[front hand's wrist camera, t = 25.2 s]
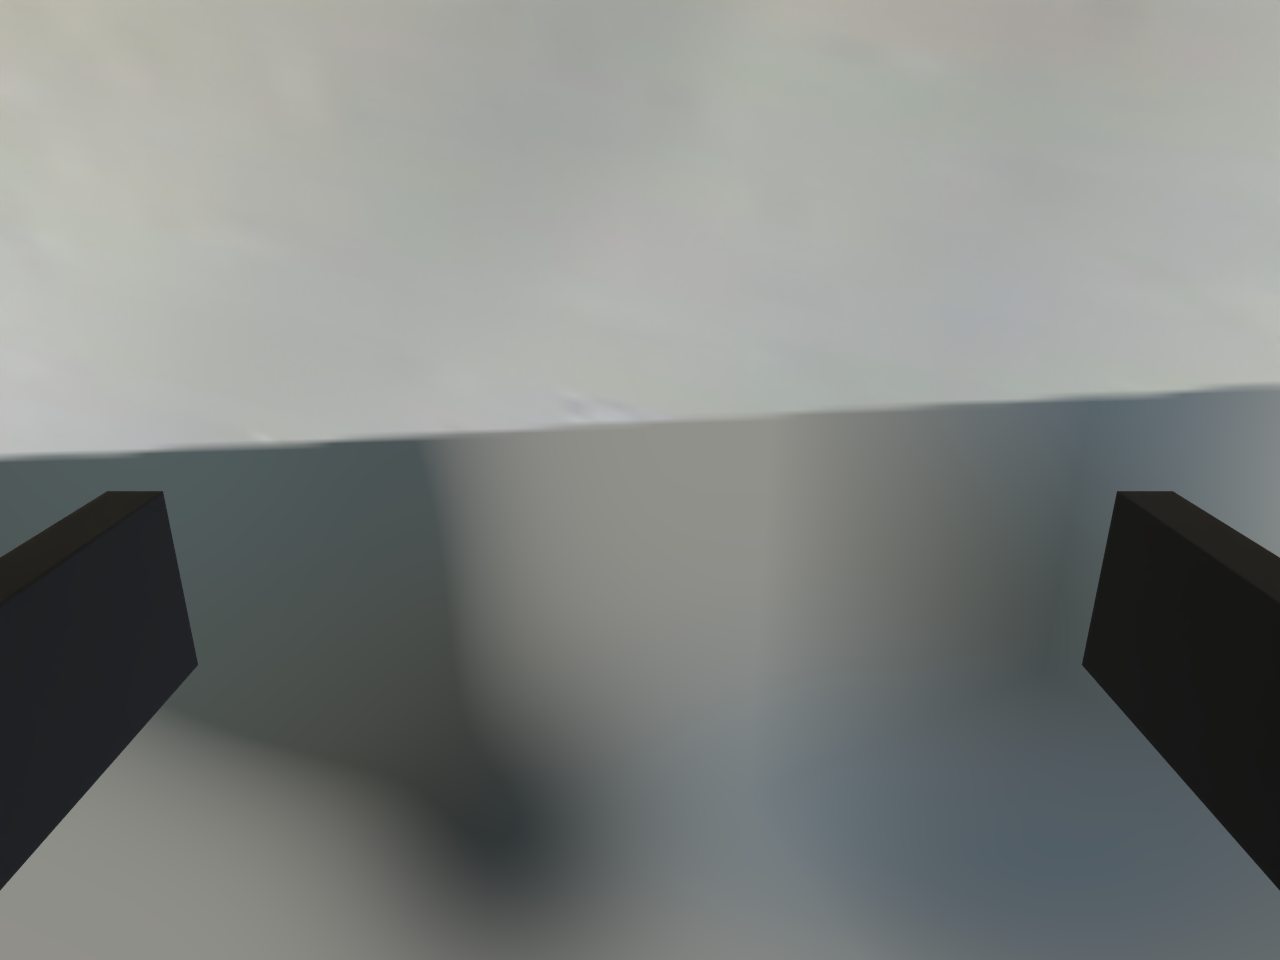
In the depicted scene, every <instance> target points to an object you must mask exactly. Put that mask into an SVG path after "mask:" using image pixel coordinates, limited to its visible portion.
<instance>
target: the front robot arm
mask: <svg viewBox="0 0 1280 960" xmlns="http://www.w3.org/2000/svg"><path fill="white" fill-rule="evenodd" d="M197 665H198V663H197V658H196V653H195V648H194V643H193V638H192V633H191V628H190V623H189V618H188V613H187V608H186V603H185V598H184V593H183V588H182V584H181V579H180V574H179V569H178V564H177V559H176V554H175V549H174V544H173V539H172V534H171V529H170V524H169V519H168V514H167V509H166V505H165V500H164V494H163V492H162V491H107V492H105V493H104V494H102V495H101V496H99V497H97V498H96V499H94V500H92V501H91V502H89V503H88V504H86V505H84V506H83V507H81V508H80V509H78V510H76V511H75V512H73V513H72V514H70V515H68V516H67V517H65V518H63V519H62V520H60V521H59V522H57V523H55V524H54V525H52V526H51V527H49V528H47V529H46V530H44V531H43V532H41V533H39V534H38V535H36V536H34V537H33V538H31V539H30V540H28V541H26V542H25V543H23V544H22V545H20V546H18V547H17V548H15V549H14V550H12V551H10V552H9V553H7V554H6V555H4V556H2V557H1V558H0V890H1V889H2V888H3V887H4V885H5V884H6V883H7V882H8V881H9V880H10V879H11V877H12V876H13V875H14V874H15V873H16V872H17V871H18V870H19V868H20V867H21V866H22V865H23V864H24V863H25V862H26V860H27V859H28V858H29V857H30V856H31V855H32V854H33V852H34V851H35V850H36V849H37V848H38V847H39V846H40V844H41V843H42V842H43V841H44V840H45V839H46V838H47V836H48V835H49V834H50V833H51V832H52V831H53V830H54V828H55V827H56V826H57V825H58V824H59V823H60V822H61V820H62V819H63V818H64V817H65V816H66V815H67V814H68V813H69V811H70V810H71V809H72V808H73V807H74V806H75V805H76V803H77V802H78V801H79V800H80V799H81V798H82V796H83V795H84V794H85V793H86V792H87V791H88V790H89V789H90V787H91V786H92V785H93V784H94V783H95V782H96V781H97V779H98V778H99V777H100V776H101V775H102V774H103V773H104V771H105V770H106V769H107V768H108V767H109V766H110V765H111V763H112V762H113V761H114V760H115V759H116V758H117V757H118V755H119V754H120V753H121V752H122V751H123V750H124V749H125V748H126V746H127V745H128V744H129V743H130V742H131V741H132V739H133V738H134V737H135V736H136V735H137V734H138V733H139V732H140V730H141V729H142V728H143V727H144V726H145V725H146V724H147V722H148V721H149V720H150V719H151V718H152V717H153V716H154V714H155V713H156V712H157V711H158V710H159V709H160V708H161V706H162V705H163V704H164V703H165V702H166V701H167V700H168V698H169V697H170V696H171V695H172V694H173V693H174V692H175V690H176V689H177V688H178V687H179V686H180V685H181V684H182V682H183V681H184V680H185V679H186V678H187V677H188V676H189V675H190V673H191V672H192V671H193V670H194V669H195V668H196V666H197ZM1082 665H1083V667H1084V668H1085V669H1086V670H1087V671H1088V672H1089V673H1090V675H1091V676H1092V677H1093V678H1094V679H1095V680H1096V681H1097V683H1098V684H1099V685H1100V686H1101V687H1102V688H1103V689H1104V690H1105V692H1106V693H1107V694H1108V695H1109V696H1110V697H1111V698H1112V700H1113V701H1114V702H1115V703H1116V704H1117V705H1118V706H1119V708H1120V709H1121V710H1122V711H1123V712H1124V713H1125V714H1126V716H1127V717H1128V718H1129V719H1130V720H1131V721H1132V722H1133V723H1134V725H1135V726H1136V727H1137V728H1138V729H1139V730H1140V732H1141V733H1142V734H1143V735H1144V736H1145V737H1146V738H1147V740H1148V741H1149V742H1150V743H1151V744H1152V745H1153V746H1154V747H1155V749H1156V750H1157V751H1158V752H1159V753H1160V754H1161V755H1162V757H1163V758H1164V759H1165V760H1166V761H1167V762H1168V763H1169V765H1170V766H1171V767H1172V768H1173V769H1174V770H1175V771H1176V772H1177V774H1178V775H1179V776H1180V777H1181V778H1182V779H1183V781H1184V782H1185V783H1186V784H1187V785H1188V786H1189V787H1190V789H1191V790H1192V791H1193V792H1194V793H1195V794H1196V795H1197V796H1198V798H1199V799H1200V800H1201V801H1202V802H1203V803H1204V805H1205V806H1206V807H1207V808H1208V809H1209V810H1210V811H1211V813H1212V814H1213V815H1214V816H1215V817H1216V818H1217V819H1218V820H1219V822H1220V823H1221V824H1222V825H1223V826H1224V827H1225V828H1226V830H1227V831H1228V832H1229V833H1230V834H1231V835H1232V836H1233V838H1234V839H1235V840H1236V841H1237V842H1238V843H1239V844H1240V846H1241V847H1242V848H1243V849H1244V850H1245V851H1246V852H1247V854H1248V855H1249V856H1250V857H1251V858H1252V859H1253V860H1254V862H1255V863H1256V864H1257V865H1258V866H1259V867H1260V868H1261V870H1262V871H1263V872H1264V873H1265V874H1266V875H1267V876H1268V877H1269V879H1270V880H1271V881H1272V882H1273V883H1274V884H1275V885H1276V887H1277V888H1278V889H1279V890H1280V558H1279V557H1278V556H1276V555H1275V554H1273V553H1271V552H1270V551H1268V550H1266V549H1265V548H1263V547H1262V546H1260V545H1258V544H1257V543H1255V542H1254V541H1252V540H1250V539H1249V538H1247V537H1246V536H1244V535H1242V534H1241V533H1239V532H1237V531H1236V530H1234V529H1233V528H1231V527H1229V526H1228V525H1226V524H1225V523H1223V522H1221V521H1220V520H1218V519H1216V518H1215V517H1213V516H1212V515H1210V514H1208V513H1207V512H1205V511H1204V510H1202V509H1200V508H1199V507H1197V506H1196V505H1194V504H1192V503H1191V502H1189V501H1187V500H1186V499H1184V498H1183V497H1181V496H1179V495H1178V494H1176V493H1175V492H1173V491H1117V495H1116V500H1115V504H1114V509H1113V514H1112V519H1111V524H1110V529H1109V534H1108V539H1107V544H1106V549H1105V554H1104V559H1103V564H1102V569H1101V574H1100V579H1099V583H1098V588H1097V593H1096V598H1095V603H1094V608H1093V613H1092V618H1091V623H1090V628H1089V633H1088V638H1087V643H1086V648H1085V653H1084V658H1083V663H1082Z"/></svg>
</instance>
